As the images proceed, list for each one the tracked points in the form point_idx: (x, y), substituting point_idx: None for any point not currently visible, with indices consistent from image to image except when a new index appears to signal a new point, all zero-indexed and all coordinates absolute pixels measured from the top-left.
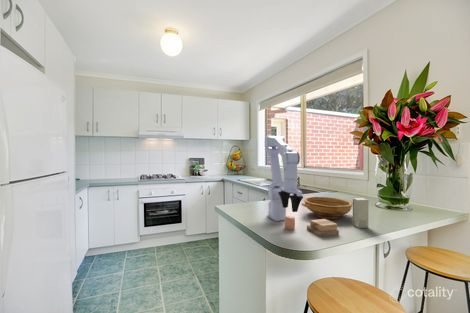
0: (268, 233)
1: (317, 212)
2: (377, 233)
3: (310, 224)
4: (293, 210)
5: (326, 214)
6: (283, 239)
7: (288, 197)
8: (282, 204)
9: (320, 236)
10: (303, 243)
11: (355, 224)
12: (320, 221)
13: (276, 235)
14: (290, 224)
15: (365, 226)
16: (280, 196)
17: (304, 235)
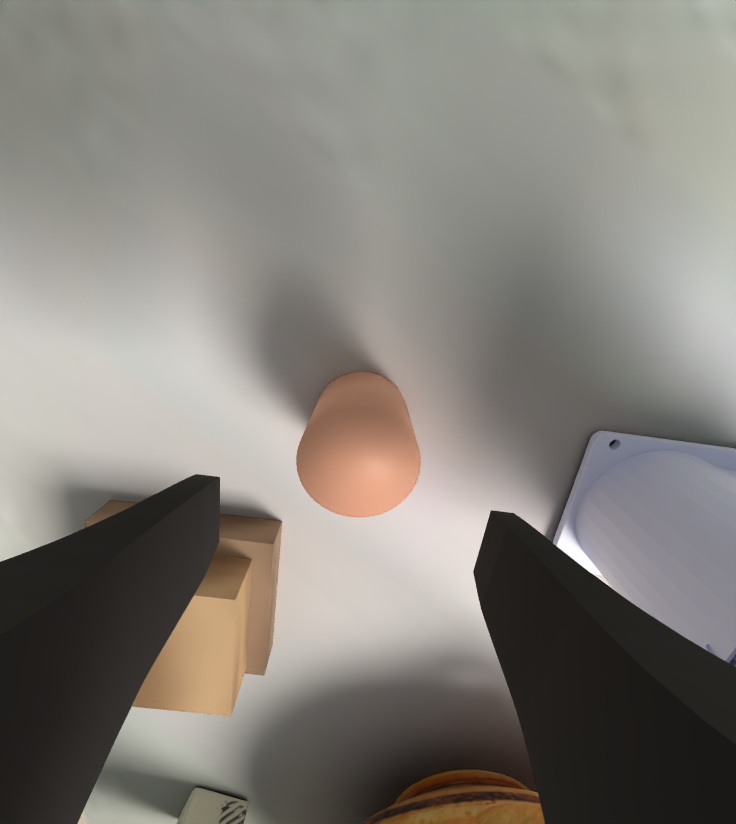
0: (335, 115)
1: (450, 793)
2: (92, 793)
3: (244, 569)
4: (176, 487)
5: (387, 808)
6: (138, 165)
7: (548, 794)
8: (540, 536)
9: (110, 503)
10: (15, 283)
11: (212, 808)
12: (173, 645)
13: (254, 167)
14: (313, 411)
15: (177, 822)
16: (729, 679)
17: (176, 418)
